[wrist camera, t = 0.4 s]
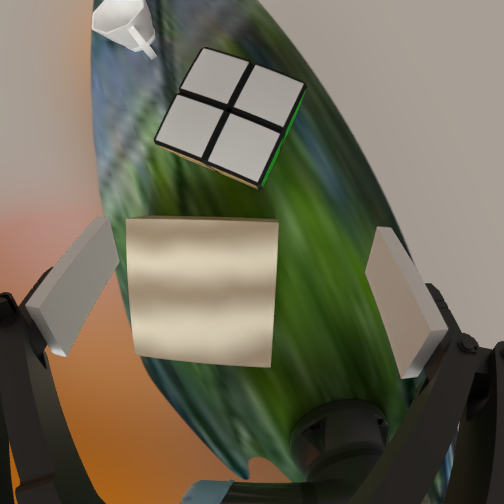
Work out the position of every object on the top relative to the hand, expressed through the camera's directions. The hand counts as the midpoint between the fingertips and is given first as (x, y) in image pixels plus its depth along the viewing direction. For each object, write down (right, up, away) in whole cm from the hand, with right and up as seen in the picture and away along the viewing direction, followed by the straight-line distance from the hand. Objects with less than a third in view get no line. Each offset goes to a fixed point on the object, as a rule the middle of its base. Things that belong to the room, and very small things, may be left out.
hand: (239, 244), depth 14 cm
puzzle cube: (-1, +13, +18) cm, 23 cm away
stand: (-4, -4, +21) cm, 22 cm away
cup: (-13, +27, +17) cm, 34 cm away
